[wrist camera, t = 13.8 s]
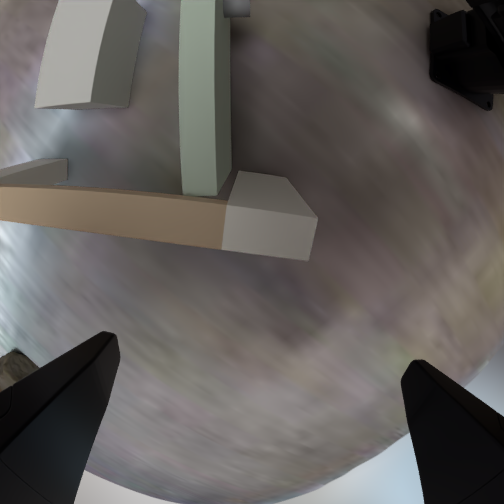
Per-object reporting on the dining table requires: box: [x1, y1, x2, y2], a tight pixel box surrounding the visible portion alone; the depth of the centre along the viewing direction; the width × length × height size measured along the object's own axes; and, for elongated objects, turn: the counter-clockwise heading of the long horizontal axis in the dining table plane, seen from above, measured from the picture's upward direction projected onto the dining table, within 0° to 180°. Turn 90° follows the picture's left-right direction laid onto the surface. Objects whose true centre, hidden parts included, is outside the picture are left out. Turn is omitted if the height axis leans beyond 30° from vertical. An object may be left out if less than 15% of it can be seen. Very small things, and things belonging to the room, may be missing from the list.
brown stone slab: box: [0, 351, 39, 392], centre depth 26 cm, size 17×15×4 cm
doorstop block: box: [35, 0, 147, 110], centre depth 12 cm, size 4×7×5 cm, turn 172°
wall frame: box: [0, 159, 318, 261], centre depth 13 cm, size 18×2×9 cm, turn 82°
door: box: [179, 0, 250, 197], centre depth 11 cm, size 10×2×8 cm, turn 1°
